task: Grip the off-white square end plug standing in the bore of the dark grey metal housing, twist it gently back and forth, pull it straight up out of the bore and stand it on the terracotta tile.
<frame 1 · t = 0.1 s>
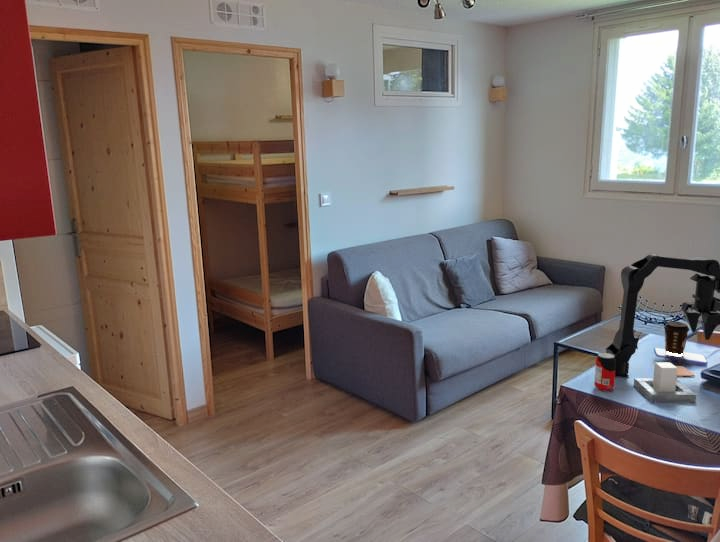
hand: (700, 335, 203), 15 cm above the table, tool pointing down, fingers open, 9 cm apart
bore housing: (663, 393, 190), on the table
end plug: (664, 379, 189), in the bore housing
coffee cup: (674, 355, 225), on the table
terracotta tile: (675, 372, 208), on the table
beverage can: (604, 388, 195), on the table
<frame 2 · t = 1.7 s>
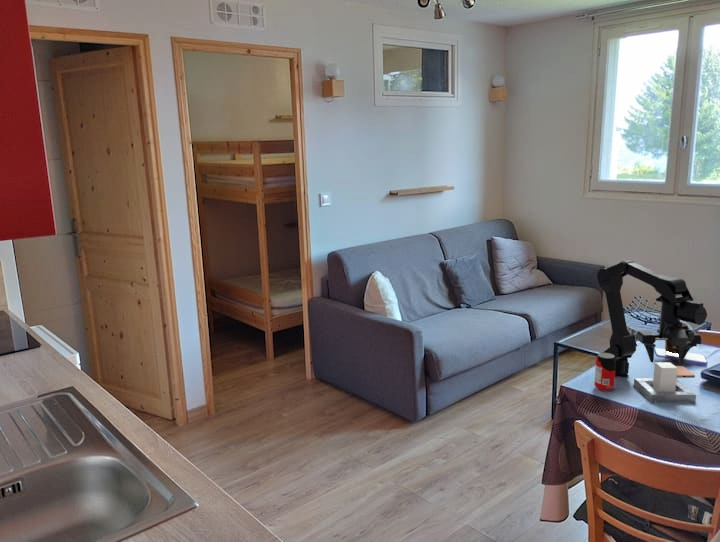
hand: (666, 362, 188), 11 cm above the table, tool pointing down, fingers open, 9 cm apart
nothing on the table moved.
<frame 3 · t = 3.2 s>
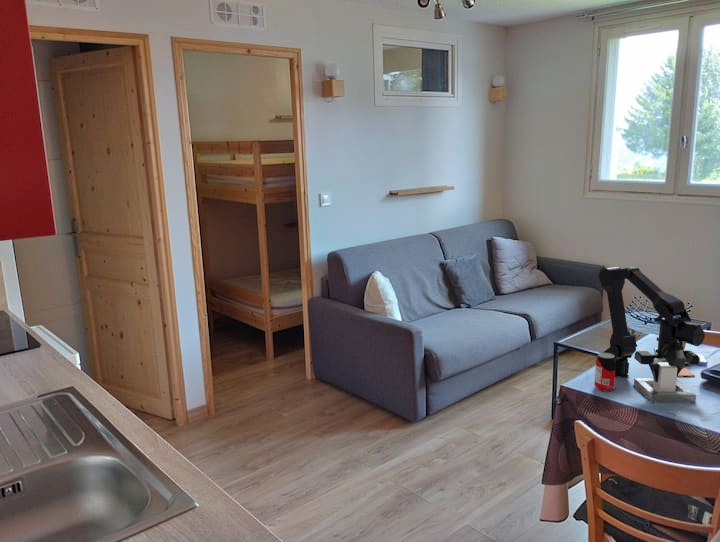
hand: (664, 381, 189), 4 cm above the table, tool pointing down, fingers closed on end plug, 5 cm apart
end plug: (664, 379, 189), in the bore housing, touching gripper
everything else where it was.
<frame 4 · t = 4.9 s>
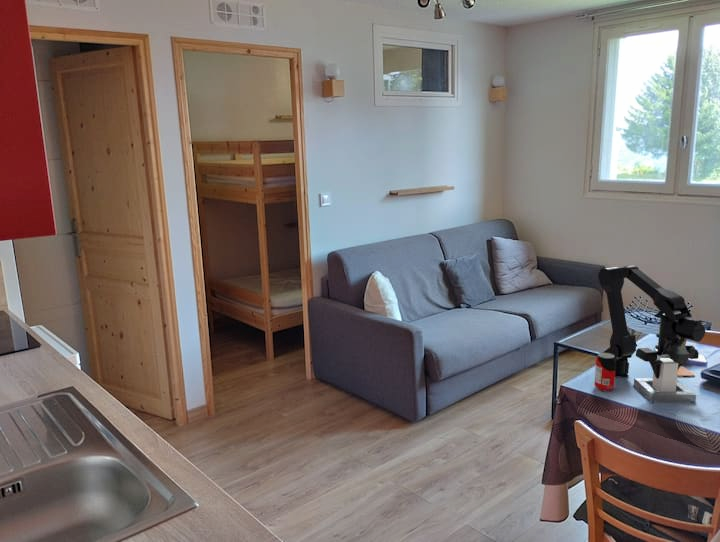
hand: (664, 377, 189), 5 cm above the table, tool pointing down, fingers closed on end plug, 5 cm apart
end plug: (665, 375, 189), point 6 cm above the table, touching gripper
everything else where it was.
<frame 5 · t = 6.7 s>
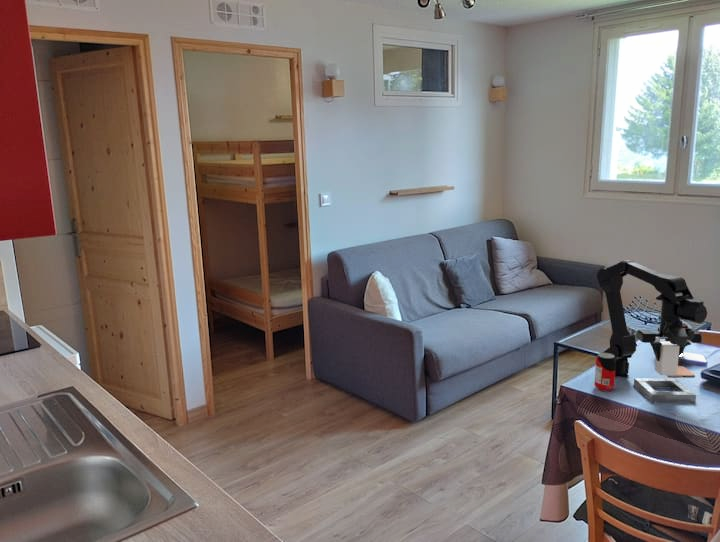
hand: (666, 360, 188), 11 cm above the table, tool pointing down, fingers closed on end plug, 5 cm apart
end plug: (666, 358, 188), point 12 cm above the table, touching gripper
everything else where it was.
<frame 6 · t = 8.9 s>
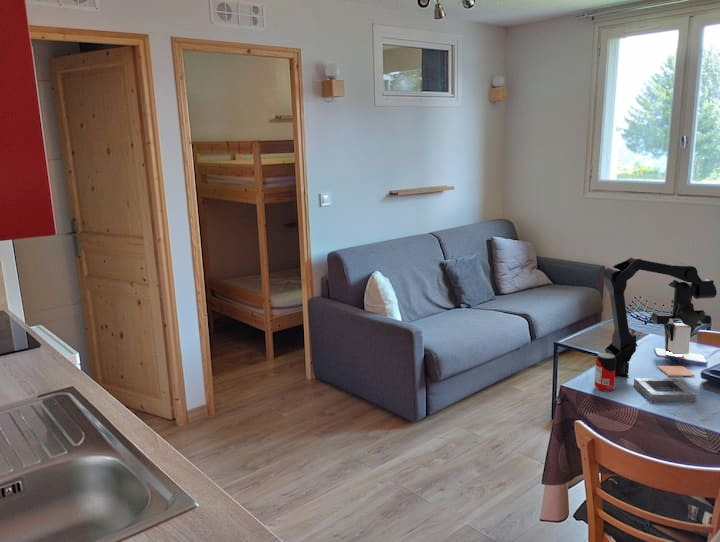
hand: (678, 340, 206), 12 cm above the table, tool pointing down, fingers closed on end plug, 5 cm apart
end plug: (679, 338, 205), point 13 cm above the table, touching gripper
everything else where it was.
when the fingers open (6 cm above the table, at t = 10.4 s): end plug drops 1 cm, resting on terracotta tile.
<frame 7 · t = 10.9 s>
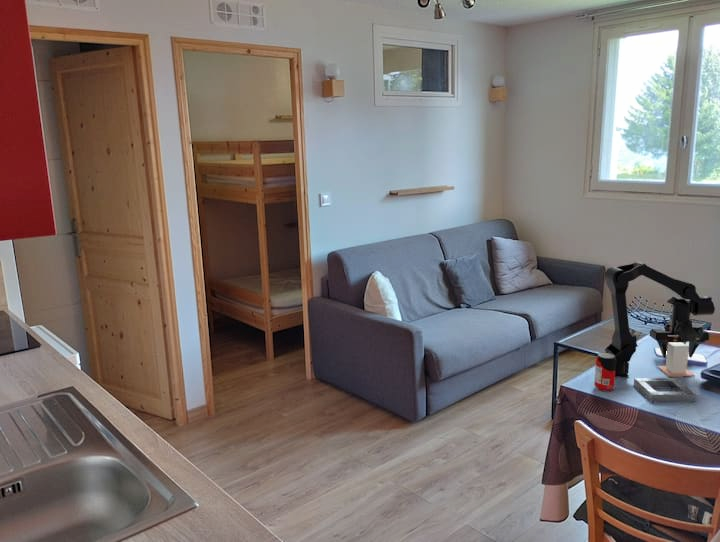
hand: (677, 357, 207), 6 cm above the table, tool pointing down, fingers open, 9 cm apart
end plug: (677, 357, 207), on the terracotta tile, point 6 cm above the table
everything else where it was.
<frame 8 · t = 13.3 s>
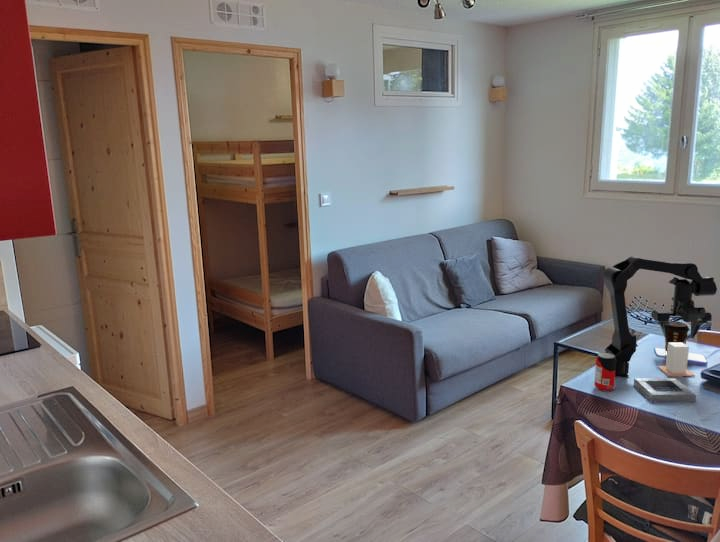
hand: (679, 338, 205), 13 cm above the table, tool pointing down, fingers open, 9 cm apart
nothing on the table moved.
at the end: end plug inside the target area (0.1 cm from its centre), point 5.6 cm above the table; end plug tilted 0°; the gripper is holding nothing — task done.
